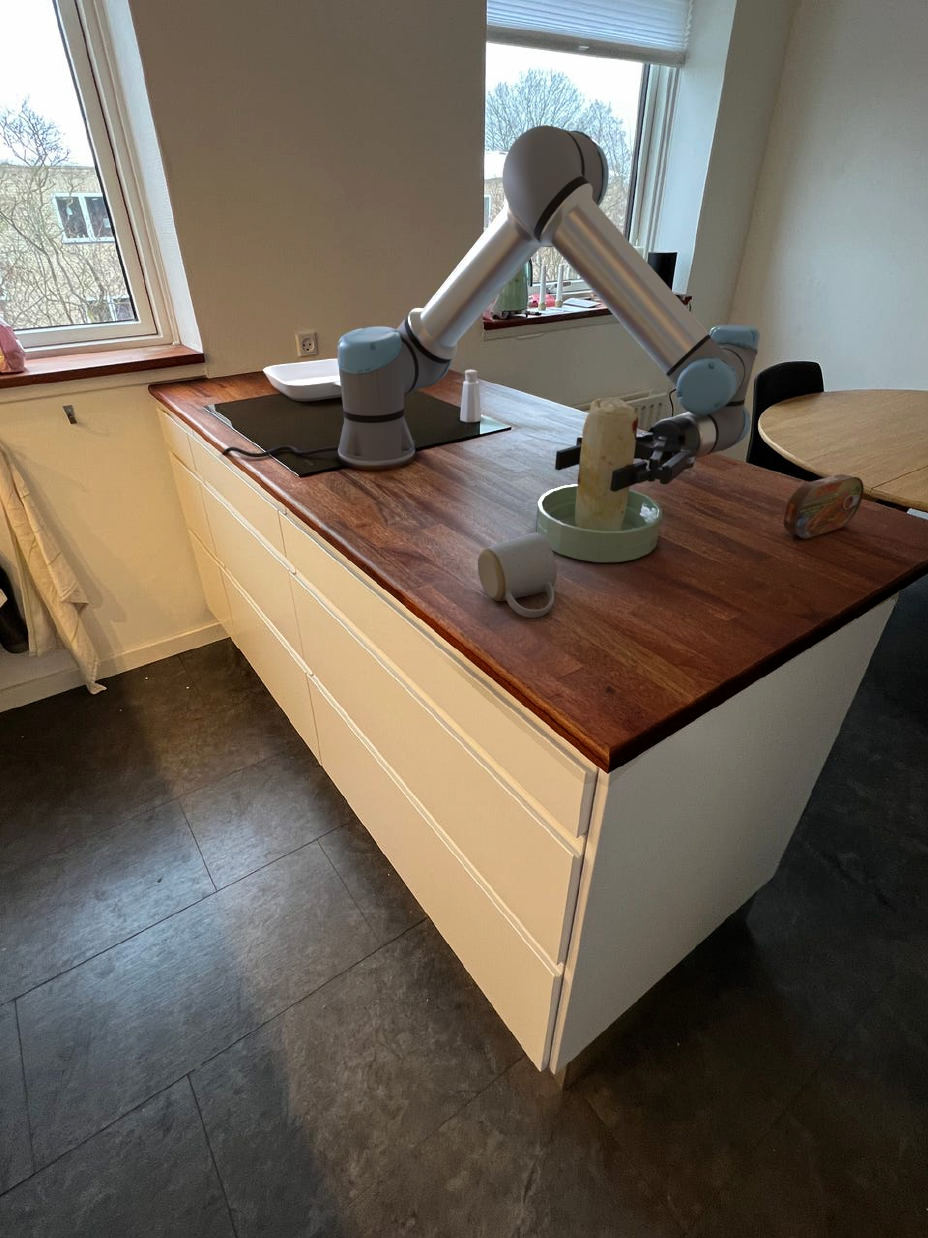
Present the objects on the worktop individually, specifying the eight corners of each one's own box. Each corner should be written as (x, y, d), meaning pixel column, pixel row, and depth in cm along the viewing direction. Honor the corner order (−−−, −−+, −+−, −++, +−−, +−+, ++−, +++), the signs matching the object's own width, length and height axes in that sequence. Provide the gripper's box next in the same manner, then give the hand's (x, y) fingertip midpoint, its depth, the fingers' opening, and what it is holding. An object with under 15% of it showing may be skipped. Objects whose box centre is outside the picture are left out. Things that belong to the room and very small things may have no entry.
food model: (632, 543, 94) (655, 407, 83) (594, 551, 92) (612, 412, 81) (596, 518, 102) (613, 390, 91) (560, 525, 100) (573, 394, 89)
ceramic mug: (473, 586, 84) (474, 534, 80) (526, 573, 87) (529, 522, 83) (513, 628, 76) (516, 572, 72) (569, 611, 80) (576, 558, 75)
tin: (790, 543, 95) (807, 490, 91) (773, 535, 98) (788, 483, 93) (855, 524, 101) (873, 474, 97) (837, 517, 104) (854, 467, 99)
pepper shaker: (455, 421, 149) (455, 371, 143) (464, 415, 153) (464, 367, 147) (477, 423, 147) (477, 374, 141) (485, 417, 152) (486, 369, 145)
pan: (349, 373, 191) (347, 356, 188) (415, 405, 161) (414, 386, 158) (260, 384, 179) (257, 366, 176) (313, 420, 149) (311, 400, 146)
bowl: (569, 573, 88) (572, 540, 85) (517, 521, 102) (519, 491, 99) (680, 553, 93) (687, 522, 90) (616, 506, 107) (620, 478, 104)
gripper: (737, 482, 95) (645, 521, 84) (620, 445, 110) (527, 474, 98) (750, 433, 91) (654, 466, 79) (626, 401, 106) (530, 425, 94)
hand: (584, 470), depth 89 cm, fingers open, 10 cm apart
